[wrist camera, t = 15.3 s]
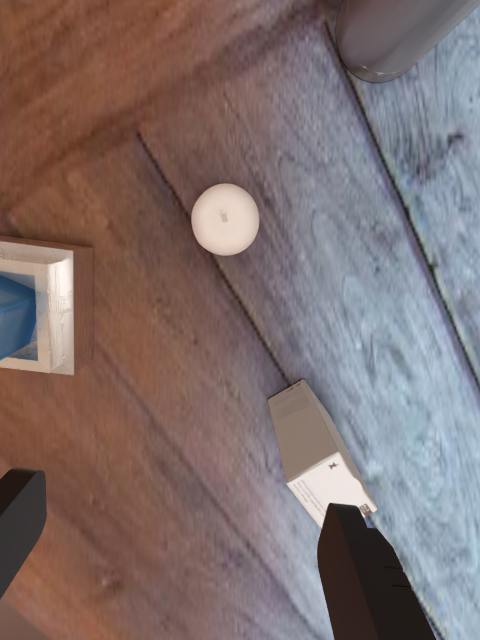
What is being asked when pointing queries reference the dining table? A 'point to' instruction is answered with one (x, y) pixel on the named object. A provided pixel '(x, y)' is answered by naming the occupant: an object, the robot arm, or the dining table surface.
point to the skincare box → (315, 454)
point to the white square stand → (53, 302)
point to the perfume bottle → (15, 316)
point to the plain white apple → (225, 219)
